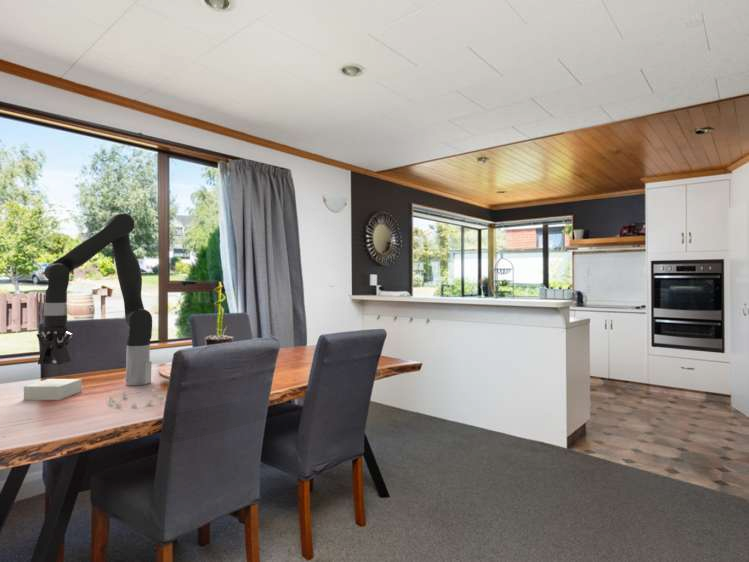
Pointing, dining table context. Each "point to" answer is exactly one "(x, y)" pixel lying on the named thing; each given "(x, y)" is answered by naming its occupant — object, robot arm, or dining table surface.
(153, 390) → the game piece set
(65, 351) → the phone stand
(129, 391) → the dining table surface
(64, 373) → the dining table surface
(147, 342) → the robot arm
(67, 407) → the dining table surface
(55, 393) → the cream block
